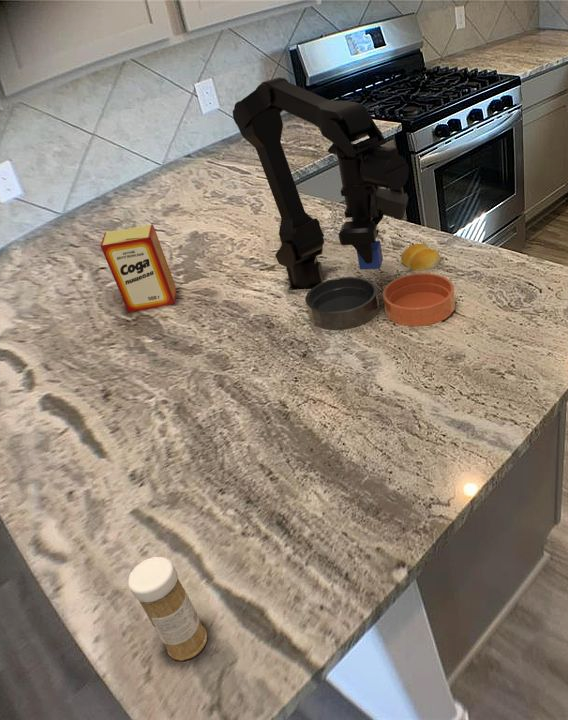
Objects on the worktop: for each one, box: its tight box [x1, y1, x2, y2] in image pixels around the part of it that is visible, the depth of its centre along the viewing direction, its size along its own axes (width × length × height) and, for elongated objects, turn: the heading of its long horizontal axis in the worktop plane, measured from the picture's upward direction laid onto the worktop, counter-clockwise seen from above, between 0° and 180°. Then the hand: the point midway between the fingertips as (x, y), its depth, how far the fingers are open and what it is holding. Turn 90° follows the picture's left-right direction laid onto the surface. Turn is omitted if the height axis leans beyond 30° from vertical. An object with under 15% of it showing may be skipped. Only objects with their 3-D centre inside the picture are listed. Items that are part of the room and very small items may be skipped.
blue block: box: [356, 240, 384, 271], centre depth 127 cm, size 4×4×4 cm
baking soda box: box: [100, 224, 177, 313], centre depth 139 cm, size 10×6×16 cm
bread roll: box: [400, 243, 441, 272], centre depth 150 cm, size 8×9×4 cm
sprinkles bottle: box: [127, 556, 208, 662], centre depth 73 cm, size 5×5×13 cm
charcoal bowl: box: [304, 276, 380, 331], centre depth 134 cm, size 14×14×4 cm
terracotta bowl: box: [382, 272, 456, 327], centre depth 133 cm, size 14×14×4 cm
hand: (370, 258), depth 127 cm, fingers closed on blue block, 4 cm apart
